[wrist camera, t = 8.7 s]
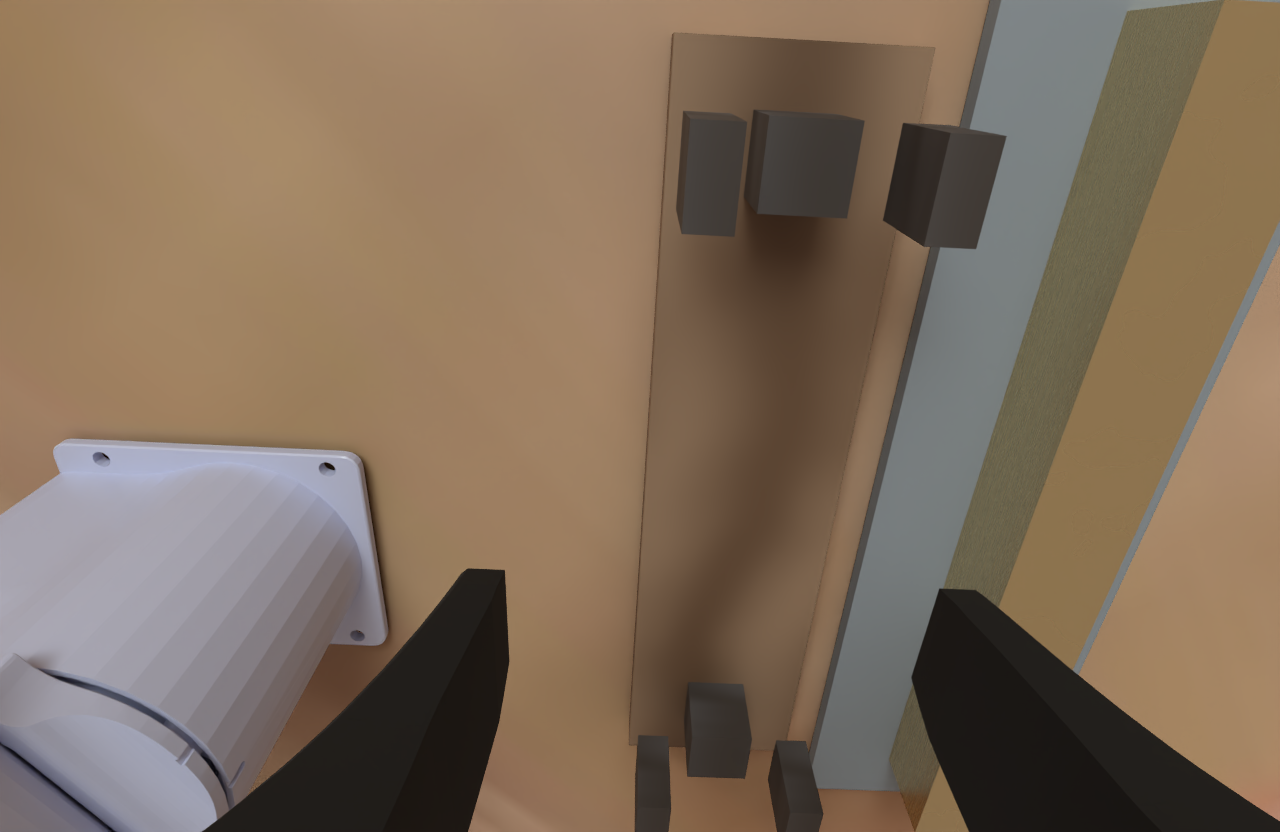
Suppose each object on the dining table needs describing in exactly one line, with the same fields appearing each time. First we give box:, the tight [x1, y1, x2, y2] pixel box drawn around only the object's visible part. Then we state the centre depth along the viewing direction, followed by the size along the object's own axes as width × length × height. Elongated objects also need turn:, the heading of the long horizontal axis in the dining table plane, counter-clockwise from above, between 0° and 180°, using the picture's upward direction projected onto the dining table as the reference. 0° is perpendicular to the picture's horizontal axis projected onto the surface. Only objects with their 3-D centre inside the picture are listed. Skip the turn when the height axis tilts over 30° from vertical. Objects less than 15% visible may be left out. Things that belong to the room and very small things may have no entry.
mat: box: [809, 0, 1280, 791], centre depth 22 cm, size 9×30×1 cm, turn 177°
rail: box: [889, 0, 1280, 832], centre depth 20 cm, size 3×26×3 cm, turn 177°
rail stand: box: [629, 33, 1007, 832], centre depth 20 cm, size 6×24×6 cm, turn 177°
